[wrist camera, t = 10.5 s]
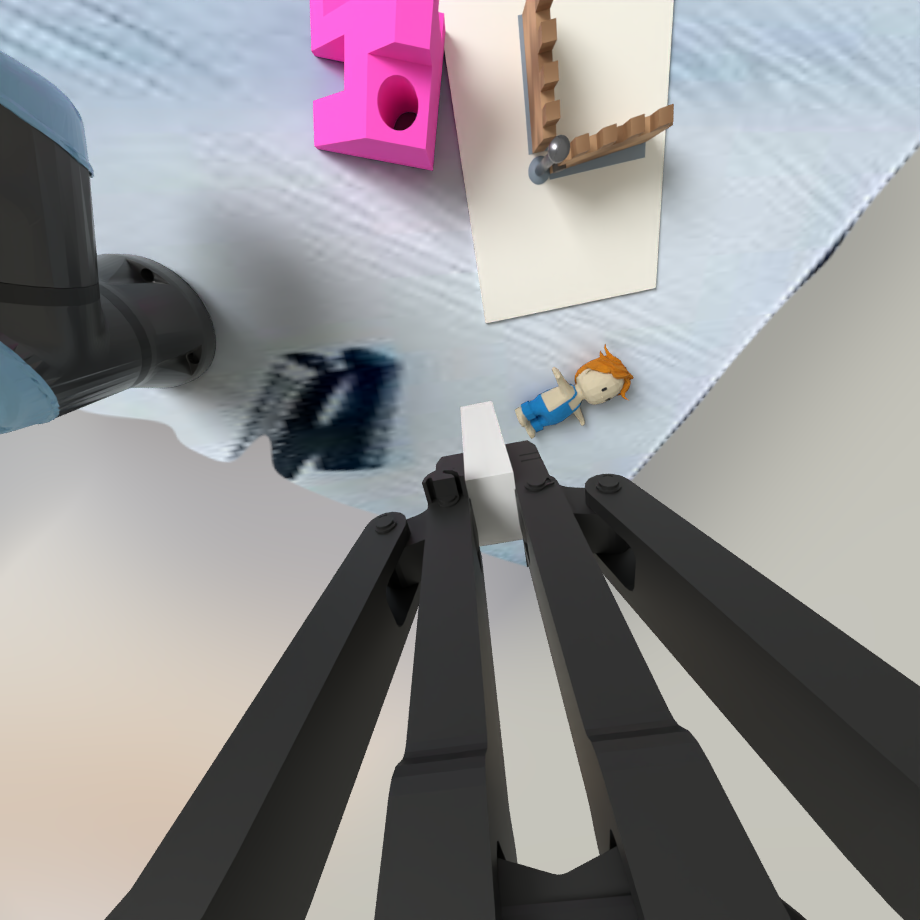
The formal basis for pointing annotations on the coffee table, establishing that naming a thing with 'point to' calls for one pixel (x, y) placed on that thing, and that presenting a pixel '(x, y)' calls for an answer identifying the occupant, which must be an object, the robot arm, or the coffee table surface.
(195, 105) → the coffee table surface
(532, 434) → the toy
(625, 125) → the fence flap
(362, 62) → the bracket
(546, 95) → the fence fixed
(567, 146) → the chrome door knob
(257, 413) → the coffee table surface
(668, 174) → the coffee table surface
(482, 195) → the card
